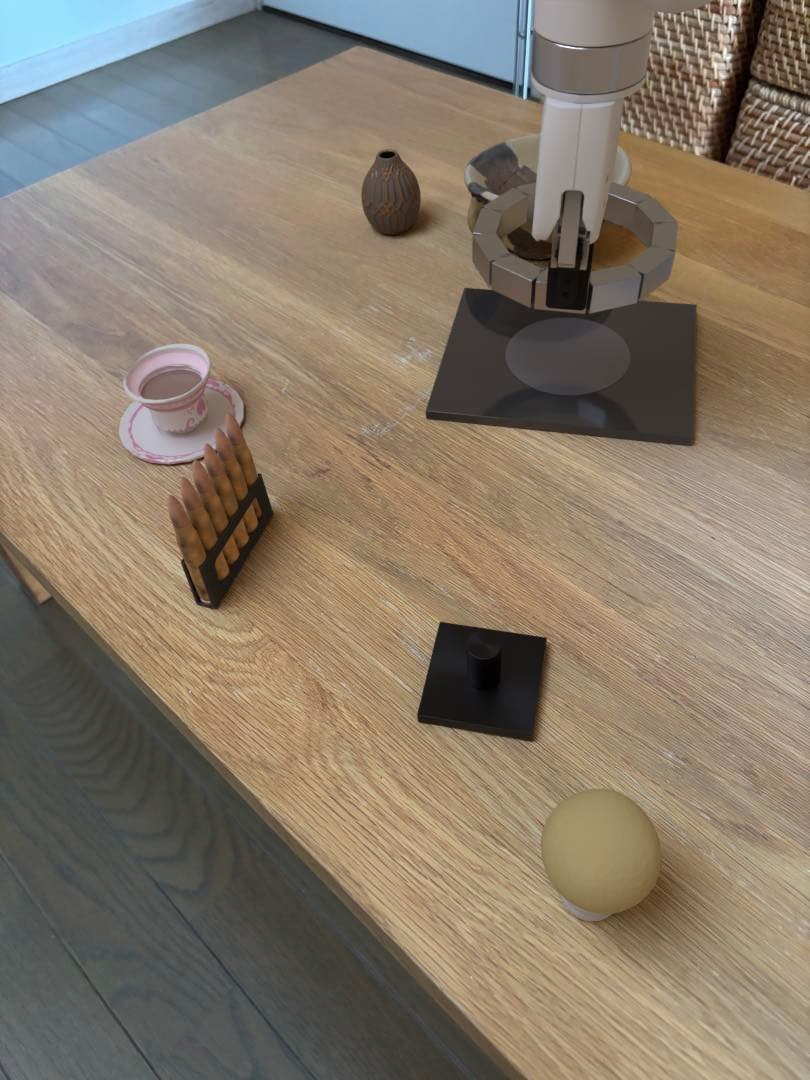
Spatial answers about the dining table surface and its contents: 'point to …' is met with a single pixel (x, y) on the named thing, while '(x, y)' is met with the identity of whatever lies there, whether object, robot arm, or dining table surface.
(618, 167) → the bowl
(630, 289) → the steel ring
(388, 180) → the vase
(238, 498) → the ammunition clip
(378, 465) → the dining table surface
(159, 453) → the teacup
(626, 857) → the light bulb
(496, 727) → the ring stand
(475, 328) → the hob plate
